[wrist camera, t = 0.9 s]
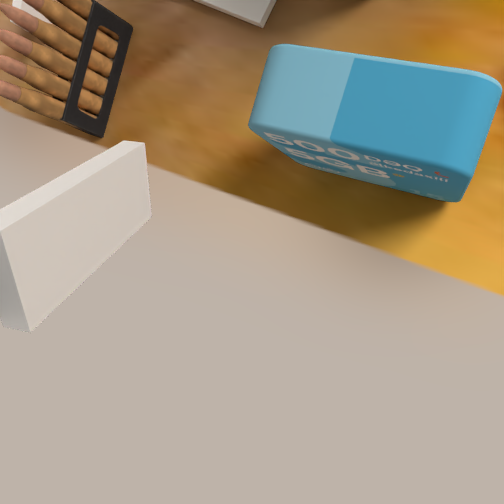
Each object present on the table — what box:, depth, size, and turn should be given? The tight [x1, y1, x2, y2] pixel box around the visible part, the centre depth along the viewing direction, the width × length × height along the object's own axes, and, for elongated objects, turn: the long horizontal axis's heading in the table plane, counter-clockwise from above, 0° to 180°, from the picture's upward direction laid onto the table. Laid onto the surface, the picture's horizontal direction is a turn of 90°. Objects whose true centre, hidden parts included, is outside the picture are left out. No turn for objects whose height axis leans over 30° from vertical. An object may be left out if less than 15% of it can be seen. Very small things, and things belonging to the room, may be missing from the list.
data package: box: [248, 44, 502, 202], centre depth 27 cm, size 12×4×12 cm, turn 72°
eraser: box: [10, 0, 51, 31], centre depth 44 cm, size 1×5×4 cm, turn 171°
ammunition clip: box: [0, 0, 133, 138], centre depth 36 cm, size 11×2×12 cm, turn 160°
